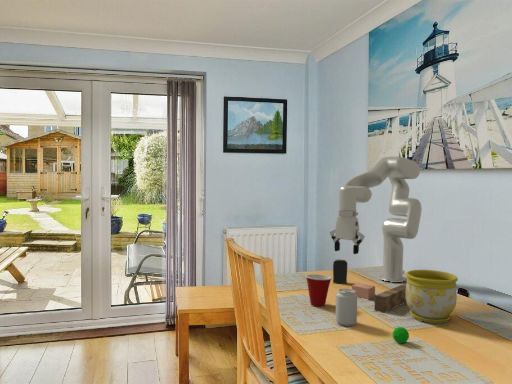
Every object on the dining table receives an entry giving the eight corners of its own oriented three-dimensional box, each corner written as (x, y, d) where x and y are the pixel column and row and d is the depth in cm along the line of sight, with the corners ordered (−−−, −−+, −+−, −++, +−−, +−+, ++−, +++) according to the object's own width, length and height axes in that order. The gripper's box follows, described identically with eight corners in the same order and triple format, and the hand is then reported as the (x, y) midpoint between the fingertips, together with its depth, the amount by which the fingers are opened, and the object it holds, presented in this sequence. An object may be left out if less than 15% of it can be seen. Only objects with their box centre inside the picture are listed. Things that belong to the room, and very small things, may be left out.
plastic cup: (335, 303, 181) (336, 274, 180) (325, 310, 172) (325, 280, 171) (311, 299, 187) (312, 271, 186) (300, 305, 178) (300, 276, 177)
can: (344, 328, 152) (345, 294, 152) (331, 321, 159) (331, 288, 159) (361, 324, 156) (361, 291, 155) (347, 318, 163) (348, 286, 162)
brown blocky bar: (405, 296, 193) (406, 283, 193) (414, 298, 190) (415, 284, 190) (374, 310, 173) (375, 295, 172) (384, 312, 170) (384, 297, 170)
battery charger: (346, 281, 218) (347, 259, 217) (347, 283, 214) (347, 260, 214) (332, 281, 219) (332, 258, 218) (332, 283, 215) (333, 259, 214)
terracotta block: (358, 294, 197) (358, 283, 196) (374, 297, 191) (375, 286, 191) (351, 296, 192) (351, 285, 192) (368, 300, 187) (368, 288, 187)
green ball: (399, 346, 137) (400, 331, 137) (389, 340, 141) (389, 326, 141) (412, 344, 139) (412, 329, 139) (401, 338, 143) (401, 324, 143)
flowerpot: (396, 317, 164) (397, 274, 164) (416, 307, 177) (417, 267, 177) (445, 330, 152) (447, 283, 151) (462, 318, 165) (464, 275, 165)
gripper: (369, 215, 193) (367, 253, 194) (335, 212, 205) (334, 248, 205) (360, 216, 187) (359, 256, 188) (326, 213, 199) (325, 250, 200)
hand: (346, 252), depth 197 cm, fingers open, 9 cm apart
